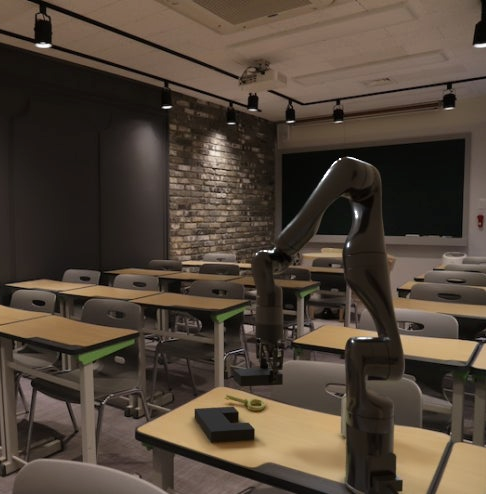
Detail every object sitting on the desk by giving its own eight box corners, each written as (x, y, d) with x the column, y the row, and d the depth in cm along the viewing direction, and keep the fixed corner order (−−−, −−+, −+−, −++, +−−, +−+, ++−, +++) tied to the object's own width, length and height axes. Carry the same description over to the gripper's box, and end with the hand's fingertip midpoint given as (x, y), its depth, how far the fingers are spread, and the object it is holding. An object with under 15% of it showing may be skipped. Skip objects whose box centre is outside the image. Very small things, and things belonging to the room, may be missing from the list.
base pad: (254, 439, 130) (254, 428, 130) (211, 442, 129) (211, 431, 129) (233, 416, 146) (233, 406, 146) (194, 418, 145) (194, 408, 144)
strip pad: (282, 384, 135) (282, 374, 135) (240, 386, 134) (240, 375, 134) (273, 377, 141) (273, 367, 141) (233, 379, 140) (233, 369, 140)
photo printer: (359, 426, 138) (360, 383, 137) (374, 431, 134) (375, 387, 134) (338, 435, 132) (338, 390, 132) (353, 441, 129) (354, 395, 128)
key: (224, 400, 159) (224, 393, 159) (264, 403, 156) (264, 396, 156) (224, 408, 152) (224, 402, 152) (265, 412, 149) (265, 405, 149)
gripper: (293, 325, 130) (293, 387, 131) (271, 315, 145) (270, 371, 146) (266, 326, 130) (266, 388, 130) (246, 316, 144) (246, 372, 145)
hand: (268, 379), depth 138 cm, fingers closed on strip pad, 6 cm apart
